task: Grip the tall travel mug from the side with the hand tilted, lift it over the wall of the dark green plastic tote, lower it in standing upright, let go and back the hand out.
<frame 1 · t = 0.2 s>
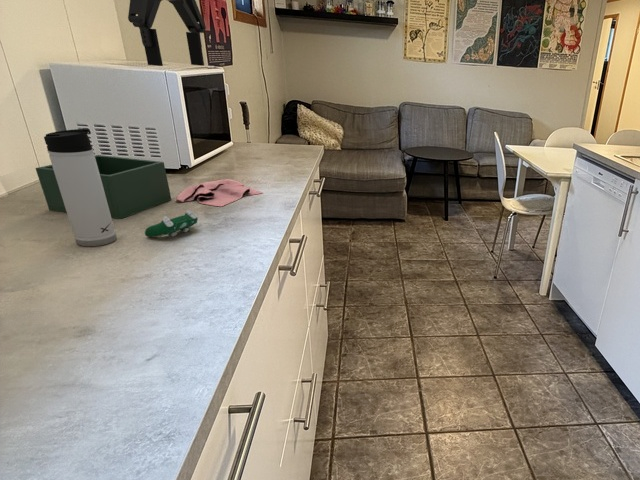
hand: (177, 65, 101), 30 cm above the counter, tool pointing down, fingers open, 13 cm apart
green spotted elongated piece: (175, 234, 95), on the counter
cloth: (216, 195, 120), on the counter
travel mug: (98, 241, 89), on the counter
tote: (113, 204, 108), on the counter
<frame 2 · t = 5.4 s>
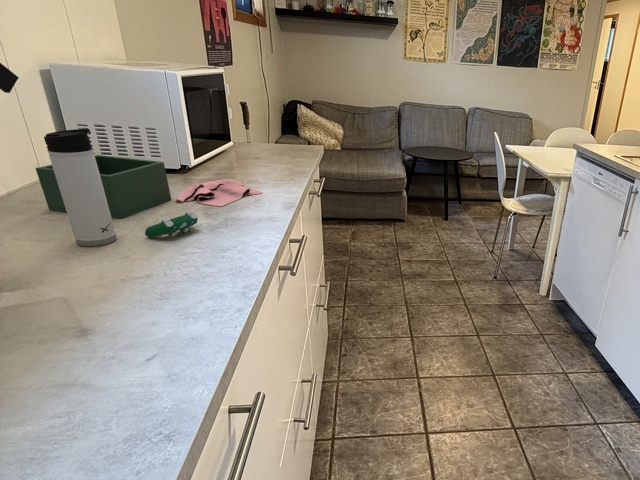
nothing on the counter moved.
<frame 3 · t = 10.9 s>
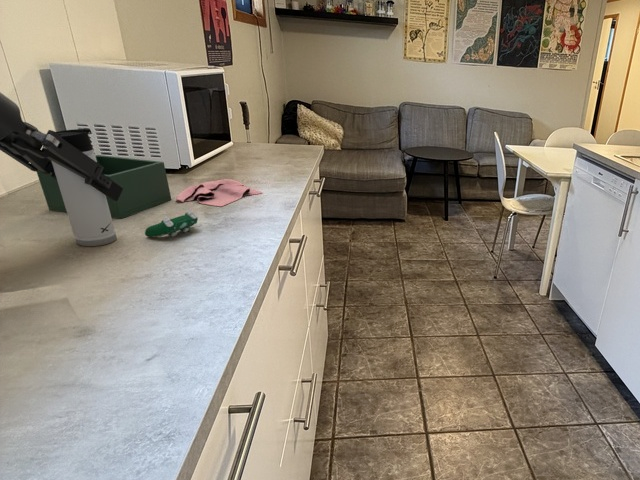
hand: (102, 192, 88), 8 cm above the counter, tool tilted 45°, fingers closed on travel mug, 6 cm apart
travel mug: (98, 241, 89), on the counter, touching gripper
everything else where it was.
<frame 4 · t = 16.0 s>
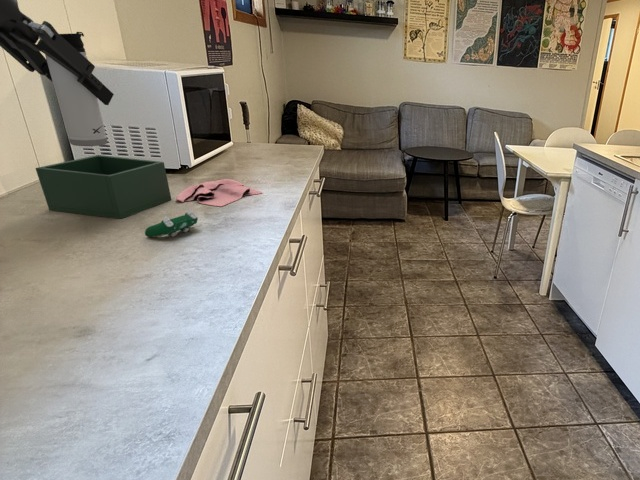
hand: (94, 97, 95), 23 cm above the counter, tool tilted 45°, fingers closed on travel mug, 6 cm apart
travel mug: (90, 144, 95), point 15 cm above the counter, touching gripper
everything else where it was.
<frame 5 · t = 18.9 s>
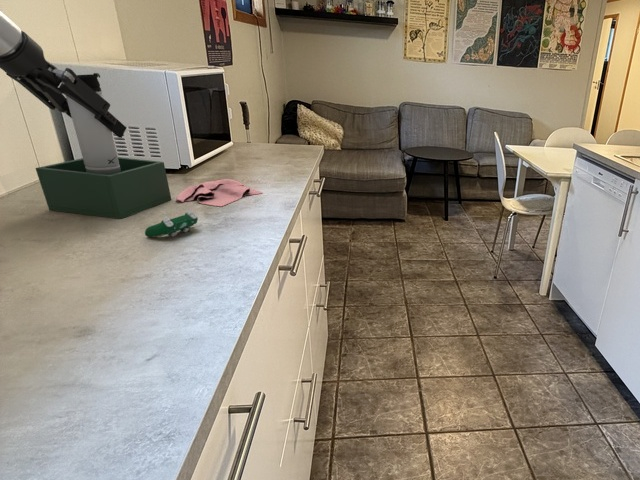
hand: (109, 130, 104), 16 cm above the counter, tool tilted 45°, fingers closed on travel mug, 6 cm apart
travel mug: (105, 173, 104), point 7 cm above the counter, touching gripper
everything else where it was.
when the fingers open (9 cm above the counter, at t = 21.1 s): travel mug stays where it is, resting on tote.
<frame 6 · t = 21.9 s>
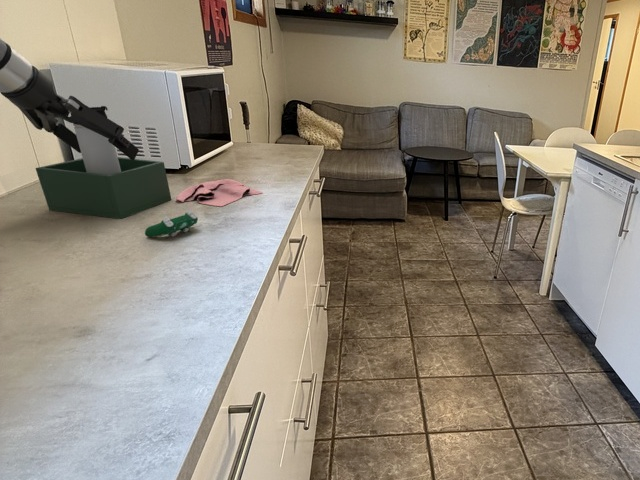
hand: (109, 151, 104), 12 cm above the counter, tool tilted 45°, fingers open, 13 cm apart
travel mug: (113, 201, 107), point 1 cm above the counter, touching tote
everything else where it was.
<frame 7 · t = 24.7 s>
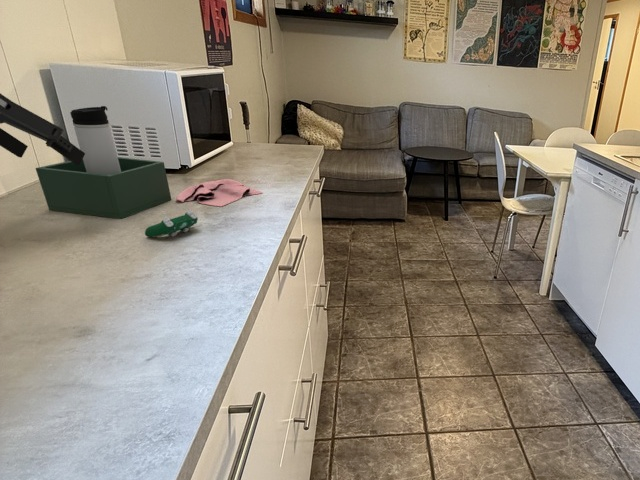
hand: (51, 155, 93), 13 cm above the counter, tool tilted 45°, fingers open, 13 cm apart
nothing on the counter moved.
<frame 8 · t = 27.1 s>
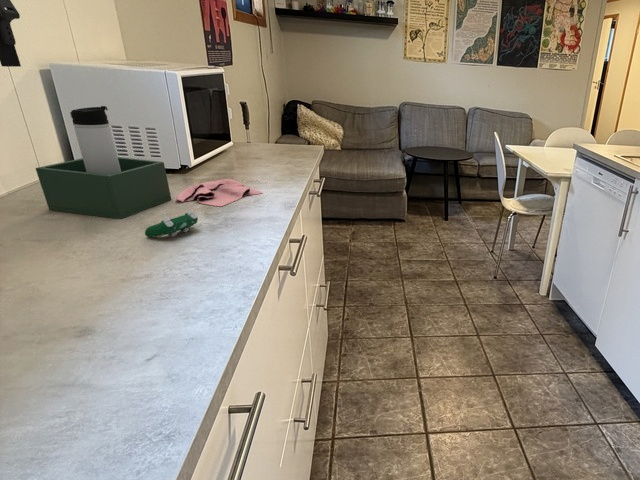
nothing on the counter moved.
at the end: travel mug inside the target area in the tote (0.1 cm from its centre), point 0.8 cm above the tote's base; travel mug tilted 0°; the gripper is holding nothing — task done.
